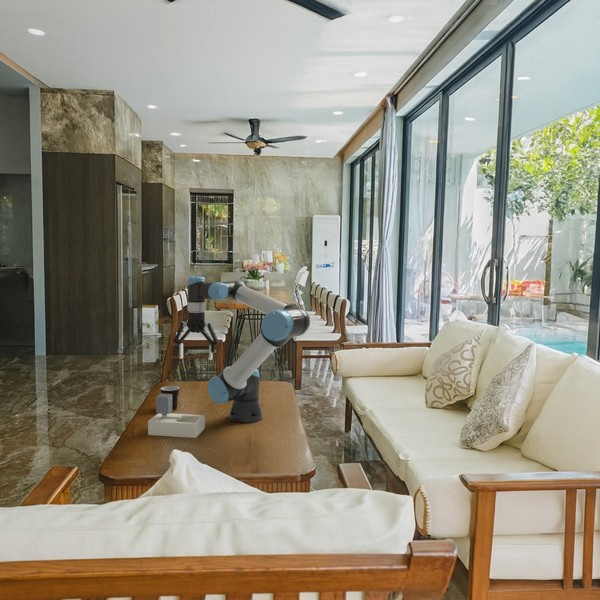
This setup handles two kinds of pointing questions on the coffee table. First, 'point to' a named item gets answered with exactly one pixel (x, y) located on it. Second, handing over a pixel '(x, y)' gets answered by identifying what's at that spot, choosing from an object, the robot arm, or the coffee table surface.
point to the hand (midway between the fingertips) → (196, 359)
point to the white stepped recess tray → (177, 425)
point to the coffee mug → (175, 393)
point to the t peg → (164, 404)
